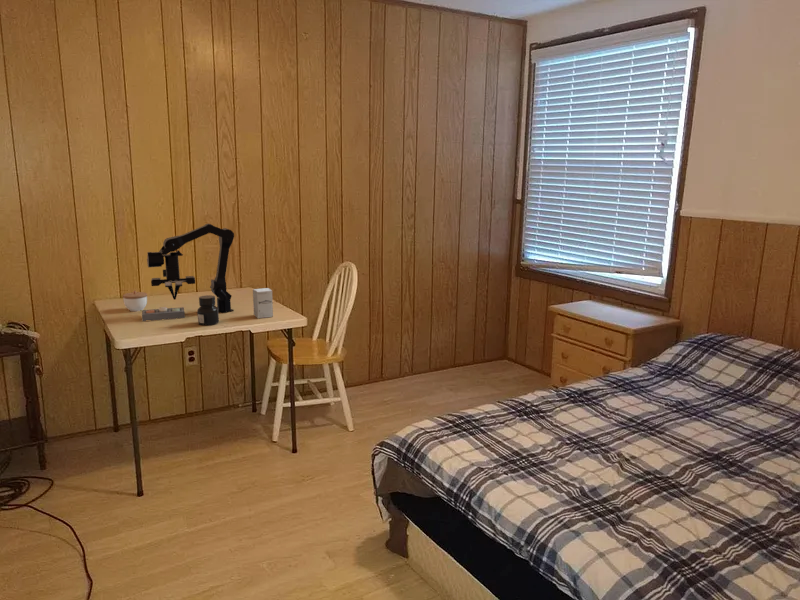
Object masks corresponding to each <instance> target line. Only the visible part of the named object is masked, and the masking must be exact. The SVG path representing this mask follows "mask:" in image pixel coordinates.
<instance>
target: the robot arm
mask: <svg viewBox="0 0 800 600" xmlns="http://www.w3.org/2000/svg"><path fill="white" fill-rule="evenodd" d="M208 234H212V235H215V236H218V241H219V242H218V243H219V253H218V260H217V265H216V266H217V267H216V274H215V277H214V279H211V280H210V283H211V284H210V287H209V288H210V289H211V290H210V291H211V293H212V294H214V296H215V297H216V307H217V308H218V313H221V314H223V313H224V314H225V313H229V311H230V312H234V310H235V309H233V308H232V306H231V305H232V304H231V303H232V302H231V299H232V297H233V296H232V295H231V293H230V292H228V291H227V280H226V277H227V276H226V275H227V269H228V260H229V252H230V248H231V247H232V244H233V241H234V239H235V233H234V232H233V230H231V229H229V228H225V227H224V228H220V227H217V226H215V225H213V224H211V223H206V224H204V225H203V226H200V227H198V228H195V229H192V230H191V231H187V232H185V233H183V234H179V235H175V236H171V237H166V238H165V239H164V240H163V242H162V247H161V248H160V250H159V251H153V252H152V251H148V252H147V254H146V255H147V258H146V263H147V264H146V265H147V268H160V267H162V266H163V265H165V269H162V276H163V279H161V277H153V278H151V279H150V283H151V286H152V287H159V286H160V285H163V284H164V286H165V288H167V289H168V290H169V292H170V294H171V296H172V298H173V300H177V296H178V294H179V293H178V292H179V290H180V288H181V287H183V283H186V284H188V285H193V284H194V285H195V284H196V278H195V276H194V275H187V276H185V278H183V277H180V275H181V274H180V264H179V263H180V262H179V261H180V259H179V257H182V256H183V255H184V254H182V253H181V252H180V250H179V249H181V248H182V247H183V246H184V245H185V244H188V243H189V242H193V241H195V240H197V239H200V238H201V237H204V236H205V235H208ZM183 257H184V256H183ZM173 284H174V285H175V286H174V288H173Z"/></svg>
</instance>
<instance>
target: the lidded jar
mask: <svg viewBox="0 0 800 600" xmlns="http://www.w3.org/2000/svg"><path fill="white" fill-rule="evenodd" d="M122 298H123V303H124V306H125V308H126V309H128V311H129V310H130V311H129V312H141V311H140V310H145V308H146V306H147V303H148V293H147V292H143V291H137V290H133V292H126V293H124V294H122Z"/></svg>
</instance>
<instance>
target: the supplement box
mask: <svg viewBox="0 0 800 600" xmlns="http://www.w3.org/2000/svg"><path fill="white" fill-rule="evenodd" d="M252 301H253V302H252V303H253V306H252V307H253V316H254V315H255V316H254V317H255V318H257V319H263V318H273V317H274V313H273V312H274V310H273V309H274V308H273V307H274V305H273V303H274V302H273V290H272V289H271V288H269V287H266V288H265V287H263V288H253V289H252ZM272 316H273V317H272Z"/></svg>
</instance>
